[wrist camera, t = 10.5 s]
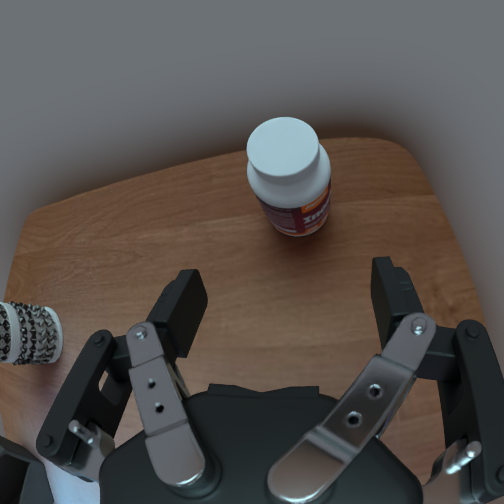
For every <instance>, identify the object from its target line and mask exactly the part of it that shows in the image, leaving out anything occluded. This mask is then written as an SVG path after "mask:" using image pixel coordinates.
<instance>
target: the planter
mask: <svg viewBox="0 0 504 504" xmlns="http://www.w3.org/2000/svg"><path fill="white" fill-rule="evenodd" d="M53 501H54V500H53V497H52V493H51V490H50V487H49V483H48V480H47V476H46V472H45V468H44V464H43V463H41V462H40V461H39V460H38V459H37V458H35V457H34V456H33V455H32V454H31V453H30V452H28V451H27V450H26V449H25V448H24V447H23V446H21V445H19V444H17V443H14V442H12V441H10V440H8V439H6V438H4V437H2V436H0V504H52V503H53Z"/></svg>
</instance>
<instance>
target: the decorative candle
mask: <svg viewBox="0 0 504 504" xmlns="http://www.w3.org/2000/svg"><path fill="white" fill-rule="evenodd" d="M62 348H63V333H62V327H61V323H60V321H59V318H58V316H57V314H56V313H55V312H54V310H53V309H52V308H49V307H42V308H40V306H39V305H37V306H32V304H29V305H28V306H27V305H25V304H24V305H23V304H22V303H19V304H17V303H14V302H13V301H11V302H10V303H2V302H0V361H1V362H2V363H11V362H12V363H13V365H17V364H18V365H20V364H21V363H22V365H25V364H32V365H35V364H44V363H45V364H47V363H53V362H56V361H57V359H58V358H59V357H60V354H61V351H62Z"/></svg>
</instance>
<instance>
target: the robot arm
mask: <svg viewBox="0 0 504 504" xmlns="http://www.w3.org/2000/svg"><path fill="white" fill-rule="evenodd" d="M371 299H372V304H373V308H374V313H375V317H376V322H377V327H378V332H379V337H380V343H381V348H382V352H381V353H380V354H379V355H378V354H375V355H374V356H373V357H372V359H371V360H370V361H369V363H368V364H367V365H366V367H365V368H364V369H363V371H362V372H361V373H360V375H359V376H358V377H357V378H356V380H355V381H354V382H353V383H352V385H351V386H350V387H349V388H348V390H347V391H346V392H345V393H344V395H343V396H342V397H341V398H340V399H339V400H337V399H335V398H333V397H330V396H327V395H323V394H319V386H304V387H287V388H282V389H278V390H273V391H268V392H257V391H253V390H249V389H246V388H242V387H239V386H236V385H223V384H209V387H208V390H207V391H204V392H200V393H197V394H194V395H192V396H191V395H190V393H189V391H188V389H187V387H186V385H185V382H184V380H183V378H182V376H181V373H180V371H179V369H178V366H177V364H176V363H175V361H176V359H177V357H180V358H187V355H188V353H189V350H190V348H191V345H192V343H193V340H194V337H195V335H196V332H197V330H198V327H199V325H200V322H201V320H202V317H203V315H204V312H205V310H206V307H207V303H208V298H207V293H206V290H205V287H204V285H203V282H202V279H201V276H200V273H199V271H198V270H197V269H189V270H181V271H180V273H179V274H178V276H177V278H176V280H173V281H171V282H170V283H169V284H168V285H167V286H166V287H165V288H164V290H163V292H162V293H161V296H160V297H159V298H158V300H157V302H156V303H155V305H154V307H153V309H152V310H151V312H150V314H149V316H148V317H147V319H146V321H145V322H140V323H137V324H135V325H134V326H132V327H131V328H130V329H129V331H128V332H127V335H123V336H118V337H113V336H112V334H111V333H110V331H108V330H99V331H97V332H95V333H94V334H93V335H91V336H90V338H89V339H88V341H87V342H86V344H85V346H84V348H83V349H82V351H81V353H80V354H79V356H78V358H77V360H76V361H75V363H74V365H73V367H72V369H71V370H70V372H69V374H68V376H67V378H66V380H65V382H64V383H63V385H62V387H61V389H60V391H59V393H58V395H57V397H56V399H55V401H54V403H53V405H52V407H51V409H50V411H49V413H48V415H47V417H46V419H45V421H44V423H43V426H42V428H41V430H40V432H39V434H38V437H37V440H36V448H37V451H38V453H39V454H40V455H41V456H43V457H44V458H46V459H47V460H49V461H51V462H52V463H53V464H54V465H56V466H57V467H59V468H61V469H62V470H64V471H66V472H68V473H69V474H71V475H73V476H76V477H78V478H80V479H82V480H84V481H86V482H97V483H99V486H100V504H486V503H488V502H490V501H493V500H495V499H497V498H500V497H502V496H504V379H503V376H502V373H501V370H500V366H499V363H498V360H497V357H496V354H495V352H494V349H493V346H492V343H491V341H490V338H489V336H488V333H487V331H486V329H485V327H484V326H483V325H482V324H481V323H479V322H478V321H475V320H464V321H462V322H460V323H459V324H458V326H457V328H456V329H454V328H447V327H441V326H437V325H436V324H435V322H434V320H433V319H432V318H431V317H430V316H428V315H426V314H425V313H424V311H423V308H422V305H421V303H420V300H419V298H418V295H417V293H416V290H415V288H414V285H413V283H412V281H411V278H410V276H409V274H408V273H407V272H406V271H405V270H404V269H403V268H402V267H394V266H393V264H392V261H391V259H390V257H389V256H388V257H375V258H373V260H372V273H371ZM104 371H106V372H107V373H108V374H109V375H108V377H107V379H106V381H105V383H104V385H103V387H102V390H101V392H100V390H99V381H100V379H101V377H102V375H103V373H104ZM417 378H423V379H430V380H437V384H438V390H439V396H440V403H441V410H442V417H443V426H444V435H445V447H446V450H445V451H444V452H443V453H441V454H440V455H439V456H438V457H437V458H436V460H435V462H434V464H433V467H432V474H431V477H430V479H429V480H428V482H427V483H426V484H425V485H423V486H421V484H420V482H419V480H418V479H417V477H416V476H415V475H414V474H413V473H412V472H411V471H410V470H409V469H408V468H407V467H406V466H405V465H404V464H403V463H402V462H401V461H400V460H399V459H398V458H397V457H396V456H395V455H394V454H393V453H392V452H391V451H390V450H389V449H388V448H387V447H386V446H385V445H384V444H383V443H382V442H381V441H380V440H379V438H380V437H381V436H382V434H383V433H384V431H385V430H386V429H387V427H388V426H389V424H390V422H391V421H392V419H393V418H394V416H395V414H396V412H397V411H398V409H399V408H400V406H401V404H402V403H403V401H404V399H405V398H406V396H407V394H408V393H409V391H410V389H411V388H412V386H413V384H414V382H415V381H416V379H417ZM132 389H133V392H134V396H135V399H136V403H137V407H138V410H139V414H140V417H141V421H142V424H143V427H144V430H142V431H141V432H139V433H138V434H136V435H135V436H134V437H132V438H131V439H129V440H128V441H126V442H125V443H123V444H122V445H121V446H119V447H118V448H116V449H115V442H114V440H113V439H114V436H115V434H116V431H117V428H118V426H119V423H120V420H121V418H122V415H123V412H124V410H125V407H126V405H127V402H128V400H129V397H130V394H131V392H132Z"/></svg>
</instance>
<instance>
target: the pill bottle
mask: <svg viewBox="0 0 504 504" xmlns="http://www.w3.org/2000/svg"><path fill="white" fill-rule="evenodd" d="M247 155H248V158H249V161H248V166H247V176H248V180H249V183H250V186H251V188H252V190H253V192H254V193H255V195H256V197H257V199H258V200H259V202H260V204H261V206H262V208H263V210H264V211H265V213H266V215H267V217H268V219H269V221H270V222H271V223H272V225H273V226H274V227H275V228H276V229H277V230H279V231H280V232H282V233H284V234H286V235H290V236H305V235H308V234H311V233H313V232H315V231H316V230H318V229H319V228H320V227H321V226H322V225H323V224H324V222H325V220H326V219H327V216H328V213H329V209H330V188H331V168H330V161H329V157H328V155H327V153H326V151H325V150H324V148H323V147H322V146H321V145H320V144H319V141H318V137H317V135H316V133H315V132H314V130H313V129H312V128H311V127H310V126H309V125H308V124H307V123H305V122H303V121H301V120H298V119H295V118H289V117H281V118H275V119H271V120H269V121H267V122H264V123H263V124H261V125H260V126H258V127H257V128H256V129H255V131H254V132H253V133H252V134H251V136H250V138H249V140H248V143H247Z"/></svg>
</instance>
